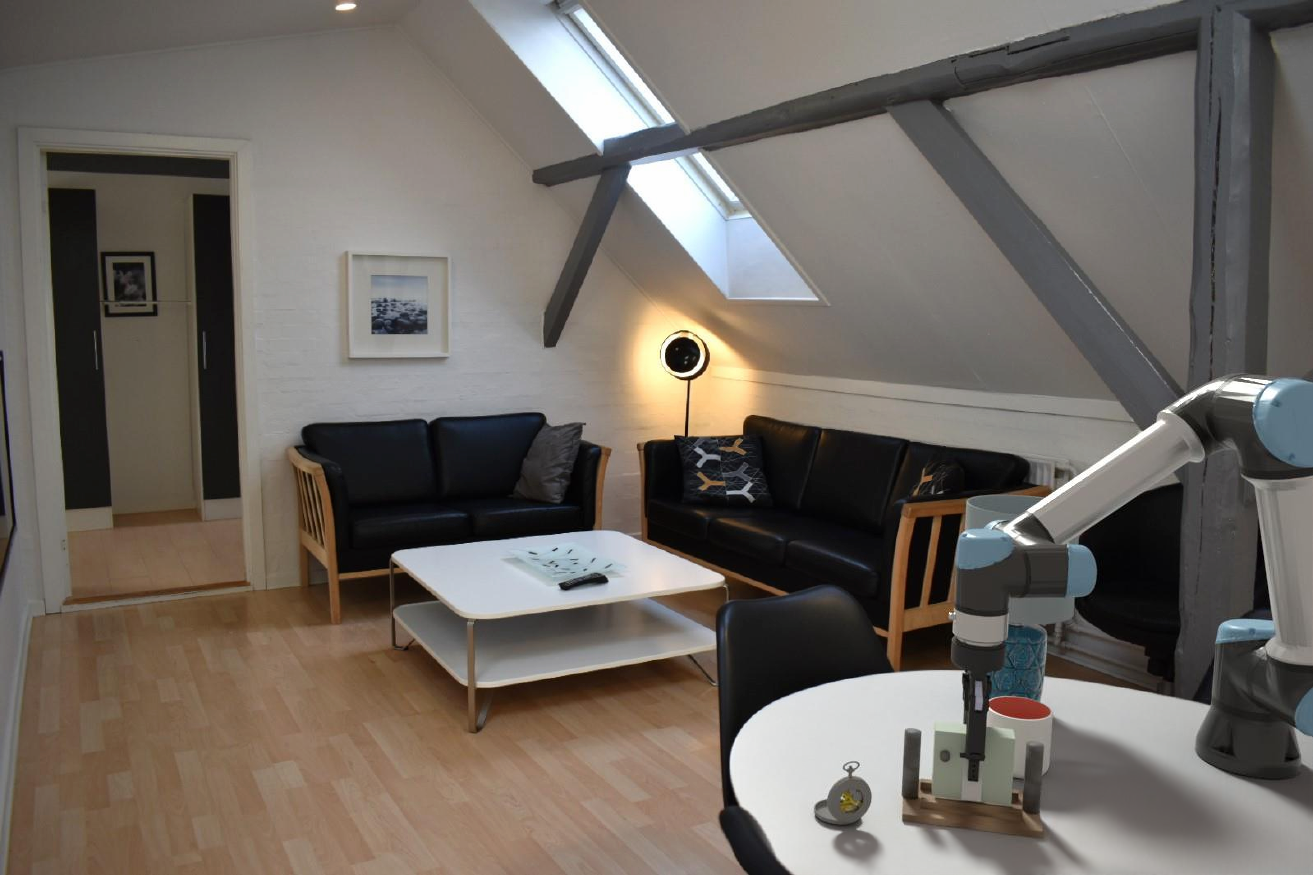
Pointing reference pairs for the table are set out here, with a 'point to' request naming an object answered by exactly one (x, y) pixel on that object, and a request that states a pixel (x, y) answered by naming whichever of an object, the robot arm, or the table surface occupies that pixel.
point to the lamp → (1020, 609)
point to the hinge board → (972, 813)
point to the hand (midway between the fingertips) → (970, 792)
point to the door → (994, 767)
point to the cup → (1022, 726)
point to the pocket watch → (845, 800)
